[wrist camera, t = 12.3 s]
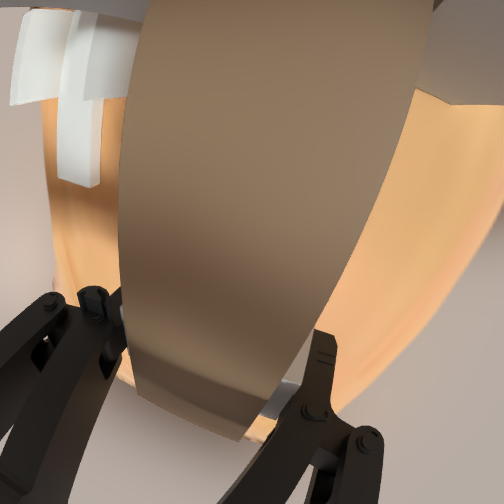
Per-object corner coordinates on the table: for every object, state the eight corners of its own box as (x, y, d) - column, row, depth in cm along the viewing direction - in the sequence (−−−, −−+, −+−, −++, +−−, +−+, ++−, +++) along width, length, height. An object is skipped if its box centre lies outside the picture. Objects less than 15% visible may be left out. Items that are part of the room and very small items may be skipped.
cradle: (65, 16, 11) (23, 14, 7) (160, -11, 9) (112, -30, 6) (49, 168, 17) (11, 184, 14) (128, 192, 16) (82, 216, 13)
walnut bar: (275, 32, 9) (172, -57, 2) (379, 61, 8) (436, -22, 2) (213, 289, 16) (137, 394, 10) (285, 318, 16) (238, 442, 9)
